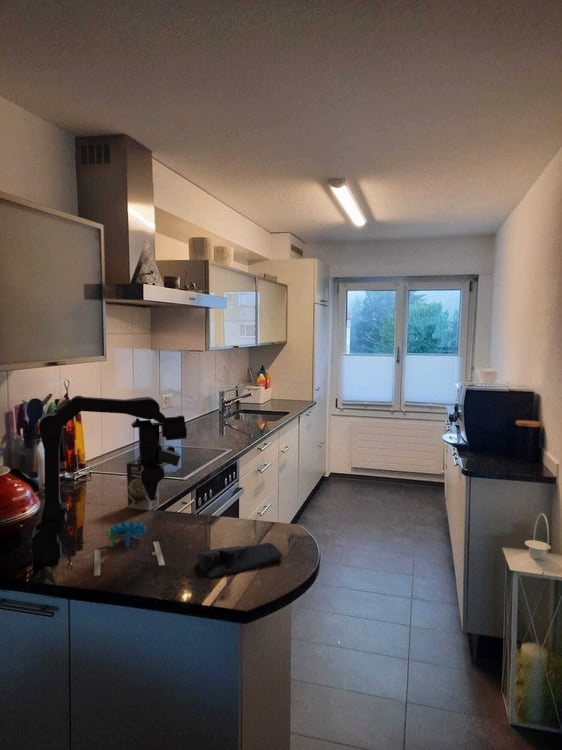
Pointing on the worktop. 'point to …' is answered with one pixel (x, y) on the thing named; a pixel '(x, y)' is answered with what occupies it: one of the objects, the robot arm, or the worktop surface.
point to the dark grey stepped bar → (237, 558)
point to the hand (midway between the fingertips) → (151, 495)
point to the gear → (125, 532)
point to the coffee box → (138, 490)
